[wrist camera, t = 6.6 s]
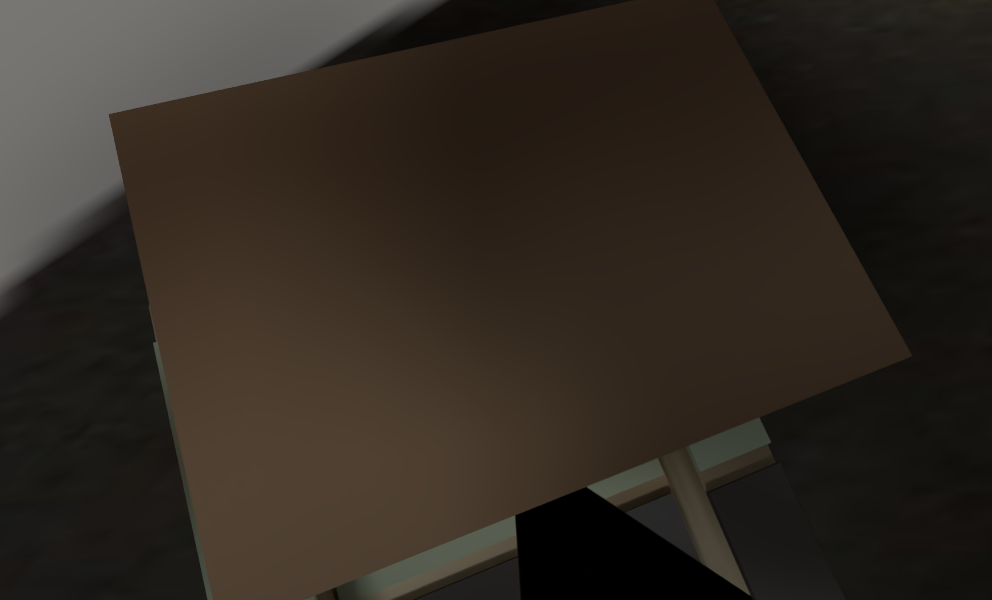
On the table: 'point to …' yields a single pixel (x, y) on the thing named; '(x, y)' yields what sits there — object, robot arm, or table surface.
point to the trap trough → (650, 500)
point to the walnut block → (477, 282)
